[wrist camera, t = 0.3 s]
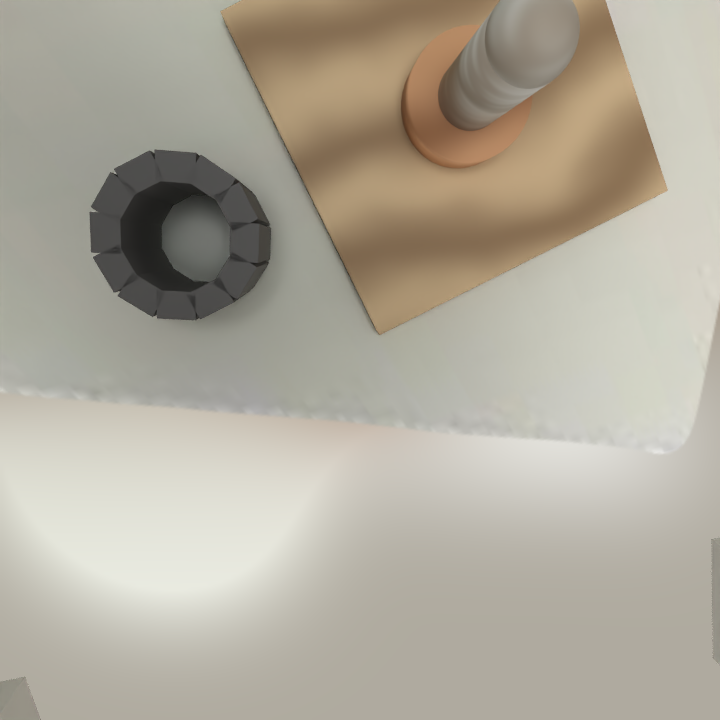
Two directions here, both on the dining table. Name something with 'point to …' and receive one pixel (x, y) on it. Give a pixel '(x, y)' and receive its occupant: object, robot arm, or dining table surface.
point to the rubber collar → (143, 234)
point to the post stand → (449, 132)
